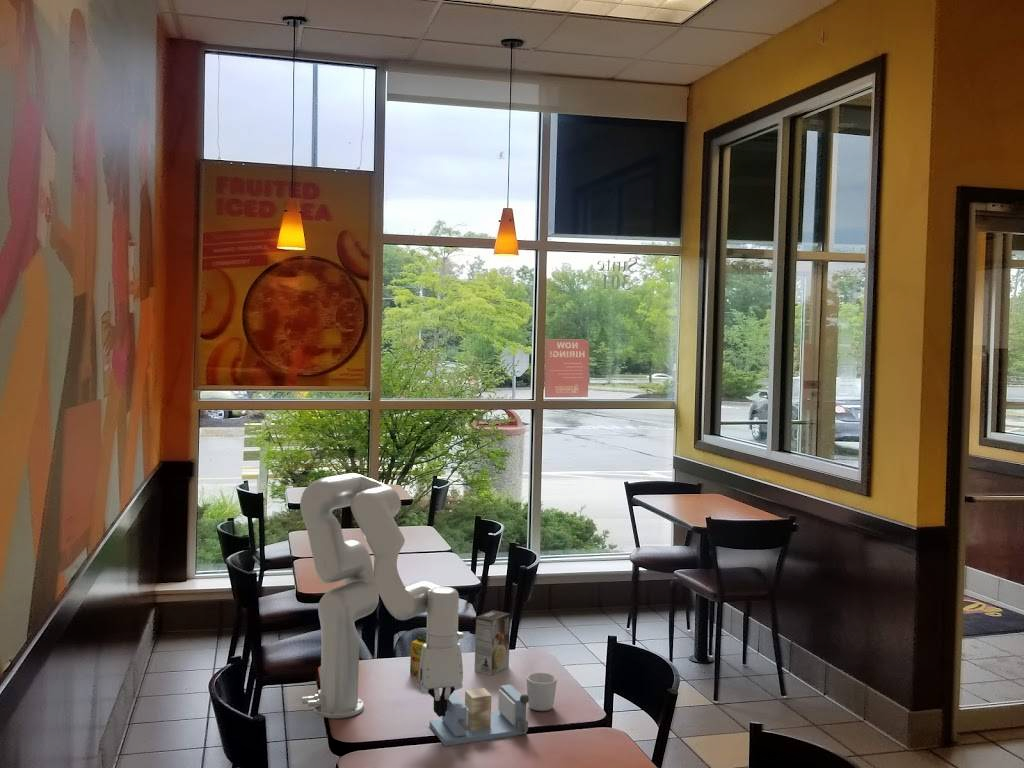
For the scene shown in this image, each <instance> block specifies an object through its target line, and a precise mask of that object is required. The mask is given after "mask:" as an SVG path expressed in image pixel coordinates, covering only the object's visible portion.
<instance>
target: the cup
mask: <svg viewBox="0 0 1024 768" xmlns="http://www.w3.org/2000/svg"><path fill="white" fill-rule="evenodd" d="M557 682H558V679H557V676H555V675H554V674H551V673H547V672H533V673H529V674H528V675H527V676H526V689H527V690H526V691H527V694H526V695H527V696H528V697H529V701H528V702H527V703H528V706H529V708H531V709H532V710H534V711H537V712H545V711H550V710H551V709H553V707H554V704H555V696H556V692H557V691H556V689H557Z"/></svg>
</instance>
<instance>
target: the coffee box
mask: <svg viewBox="0 0 1024 768" xmlns="http://www.w3.org/2000/svg"><path fill="white" fill-rule="evenodd" d="M510 618H511V613H509V612H503V611H498V610H489V611H487V612H485V613H482V614H480V615H478V616H475V636H474V637H475V638H474V671H475V672H477V673H481V674H484V675H485V674H486V675H489V676H493V675H495V674H497V673H499V672H500V671H503V670H505V669H507V668H508V667H510V665H509V664H510V632H511V631H510V627H511V626H510V625H511V623H510V621H511V619H510Z"/></svg>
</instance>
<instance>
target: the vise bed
mask: <svg viewBox="0 0 1024 768" xmlns="http://www.w3.org/2000/svg"><path fill="white" fill-rule="evenodd" d="M528 701H529V697H528V694H524V693H522V694H521V693H520V692H519V691H518V690H516V689H515V688H514V687H513V686H512V685H511V684H504V685H500V687H499V689H498V701H497V702H498V703H497V704H498V706H497V707H498V708H497V710H498V711H493V712H492V711H491V728H485V729H478V730H471V729H470V728H469V730H468V731H466V735H464V736H457V737H456V736H455V735H454V734H453V733H452V731H451V730H450V729H449V728H448V726H447V725H446V724H445V723H444V721H443V720H442V718H441V719H435V720H429V727H430V729H431V730H432V731H433V732H434V734H435V735H436V736H437V738H438V739H439V740H440V742H441V743H442V744H443V746H444V747H446V746H452V745H453V746H454V745H461V744H466V743H467V744H468V743H474V742H479V741H482V742H483V741H489V740H493V739H500V738H507V737H514V736H521V735H526V734H527V731H529V720H528V719H527V703H528Z"/></svg>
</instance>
